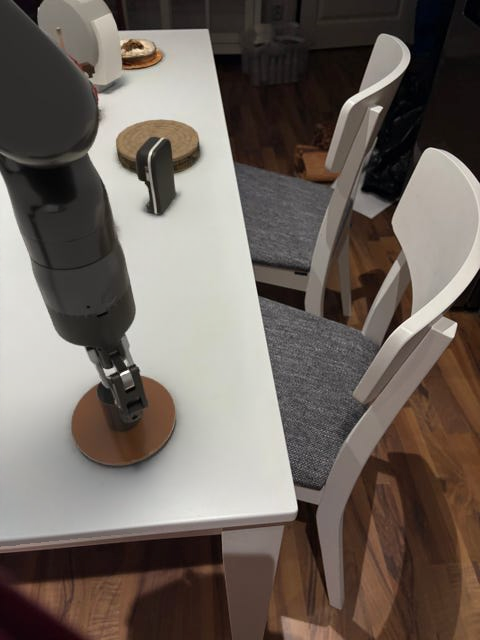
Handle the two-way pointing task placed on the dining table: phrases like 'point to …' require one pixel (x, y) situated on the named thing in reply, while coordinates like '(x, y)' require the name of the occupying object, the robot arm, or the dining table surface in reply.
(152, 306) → the dining table surface
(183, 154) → the wood log slice
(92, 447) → the crock lid
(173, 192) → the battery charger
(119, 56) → the alarm clock
